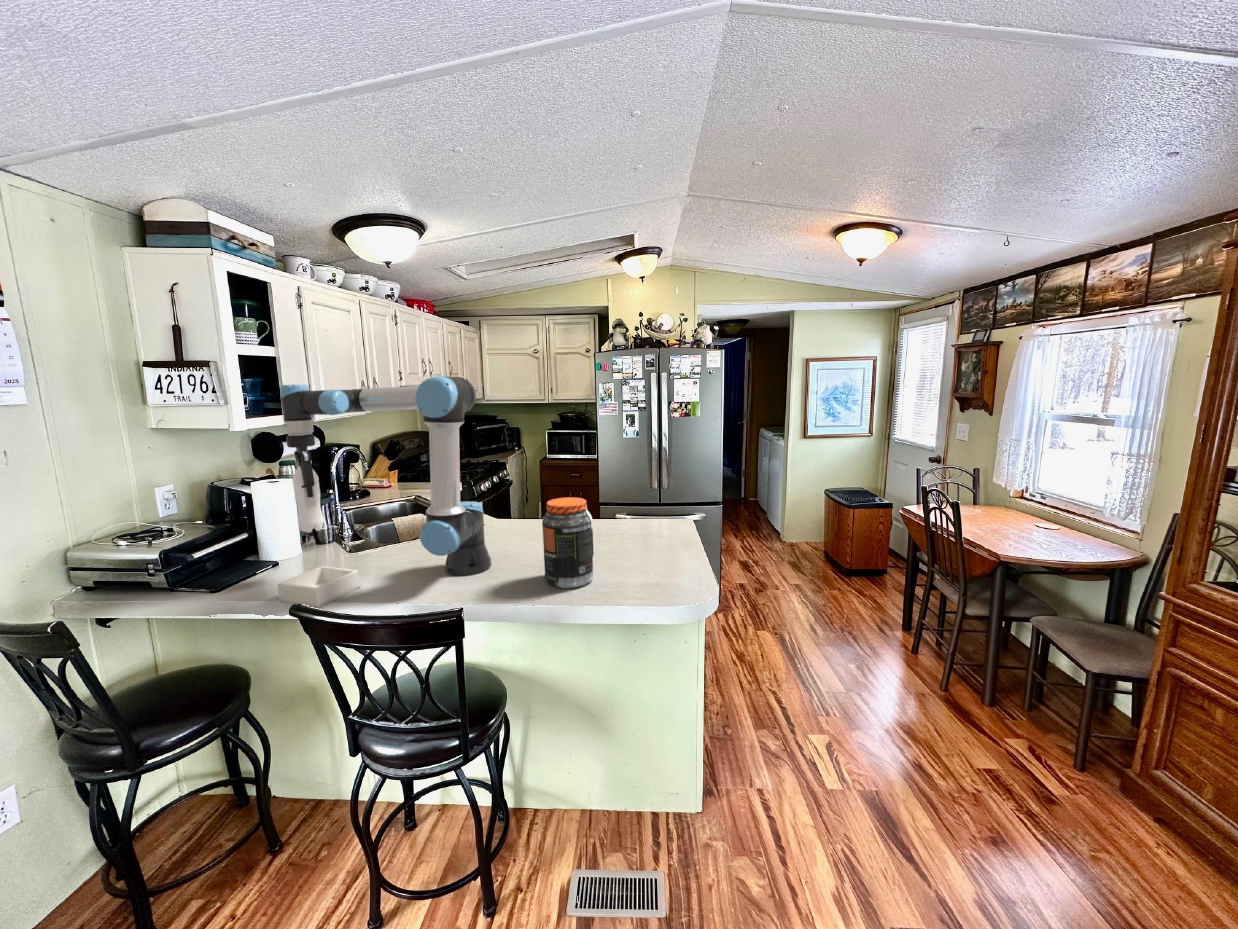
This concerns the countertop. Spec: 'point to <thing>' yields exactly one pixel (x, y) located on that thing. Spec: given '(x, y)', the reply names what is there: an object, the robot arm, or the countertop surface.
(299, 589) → the bin
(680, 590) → the countertop surface
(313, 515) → the water bottle
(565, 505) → the supplement tub
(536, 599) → the countertop surface
